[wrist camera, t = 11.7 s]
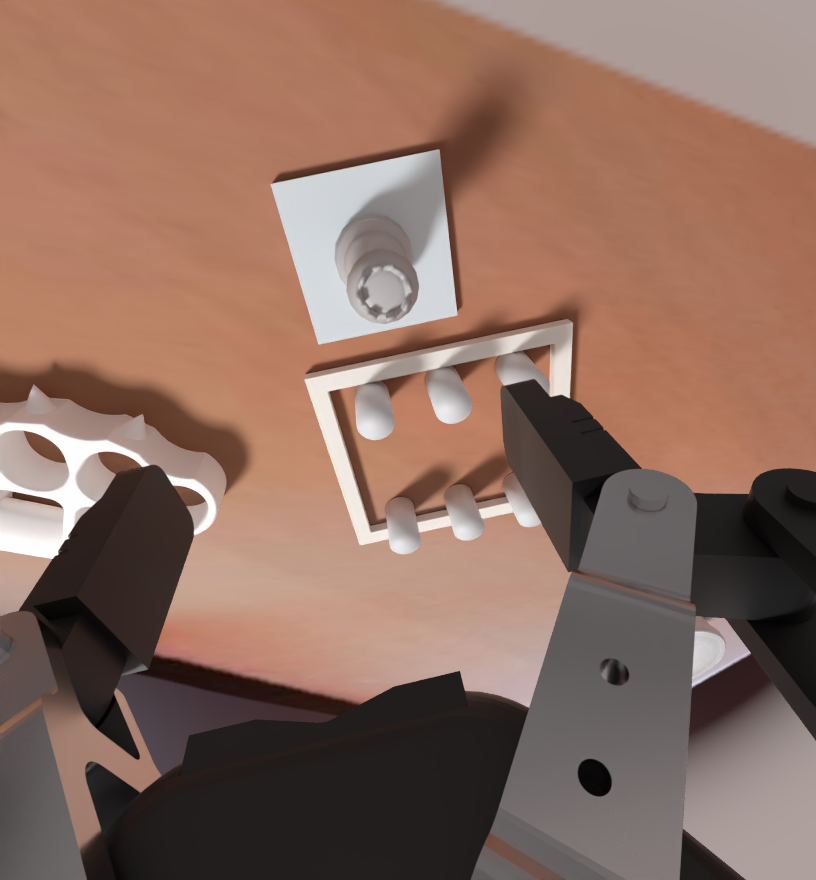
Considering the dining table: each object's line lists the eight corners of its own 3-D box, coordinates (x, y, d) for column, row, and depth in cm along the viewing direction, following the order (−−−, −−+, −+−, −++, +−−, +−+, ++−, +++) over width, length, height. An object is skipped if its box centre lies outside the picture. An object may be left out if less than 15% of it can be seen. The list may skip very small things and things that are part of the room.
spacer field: (359, 538, 39) (361, 575, 36) (305, 374, 30) (301, 403, 27) (561, 494, 39) (582, 527, 36) (567, 318, 30) (595, 340, 27)
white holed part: (-53, 516, 33) (-71, 339, 26) (204, 562, 39) (244, 426, 32) (-89, 551, 30) (-119, 362, 24) (193, 595, 36) (235, 453, 29)
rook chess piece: (410, 209, 25) (435, 234, 18) (412, 291, 27) (436, 339, 21) (329, 214, 25) (325, 242, 18) (339, 296, 27) (339, 347, 20)
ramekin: (620, 591, 49) (648, 635, 44) (711, 586, 50) (747, 628, 46) (588, 651, 55) (610, 695, 50) (671, 644, 56) (699, 687, 52)
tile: (319, 341, 29) (318, 344, 29) (271, 183, 24) (270, 184, 23) (455, 312, 29) (457, 315, 29) (437, 149, 24) (439, 149, 24)
